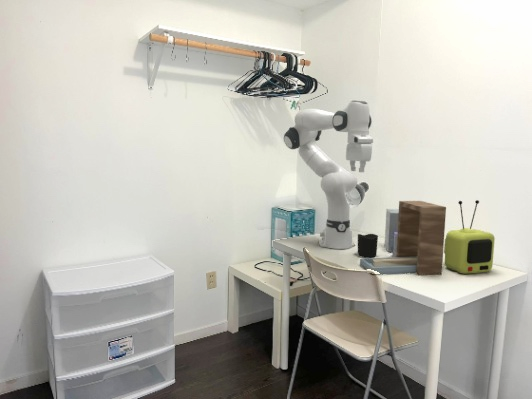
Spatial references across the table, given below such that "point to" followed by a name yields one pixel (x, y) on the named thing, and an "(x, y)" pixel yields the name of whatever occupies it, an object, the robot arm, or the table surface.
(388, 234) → the hard drive box
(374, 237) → the pen holder
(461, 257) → the television
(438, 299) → the table surface
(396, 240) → the ink cartridge box
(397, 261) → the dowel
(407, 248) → the shelf
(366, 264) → the tray
